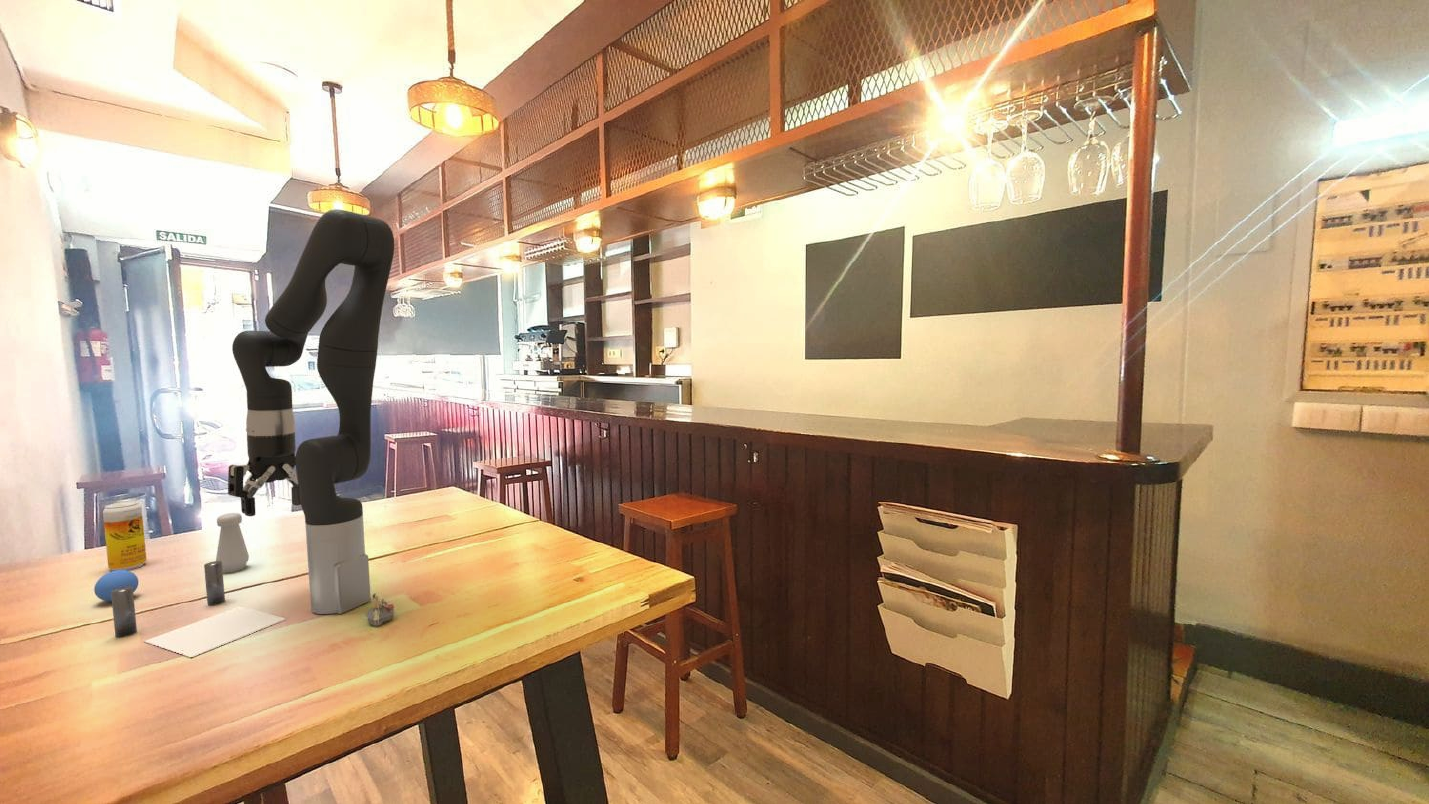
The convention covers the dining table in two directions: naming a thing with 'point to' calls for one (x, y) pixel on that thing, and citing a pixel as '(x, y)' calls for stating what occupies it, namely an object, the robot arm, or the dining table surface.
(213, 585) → the right post
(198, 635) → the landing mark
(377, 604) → the figurine
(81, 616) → the dining table surface
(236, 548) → the salt shaker
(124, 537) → the beer can
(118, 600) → the left post
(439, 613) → the dining table surface
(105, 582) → the ball
